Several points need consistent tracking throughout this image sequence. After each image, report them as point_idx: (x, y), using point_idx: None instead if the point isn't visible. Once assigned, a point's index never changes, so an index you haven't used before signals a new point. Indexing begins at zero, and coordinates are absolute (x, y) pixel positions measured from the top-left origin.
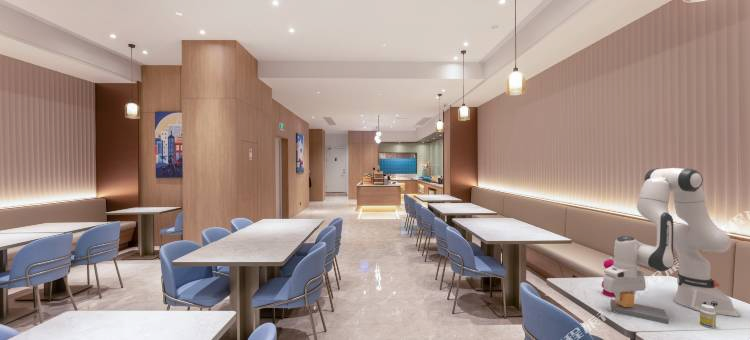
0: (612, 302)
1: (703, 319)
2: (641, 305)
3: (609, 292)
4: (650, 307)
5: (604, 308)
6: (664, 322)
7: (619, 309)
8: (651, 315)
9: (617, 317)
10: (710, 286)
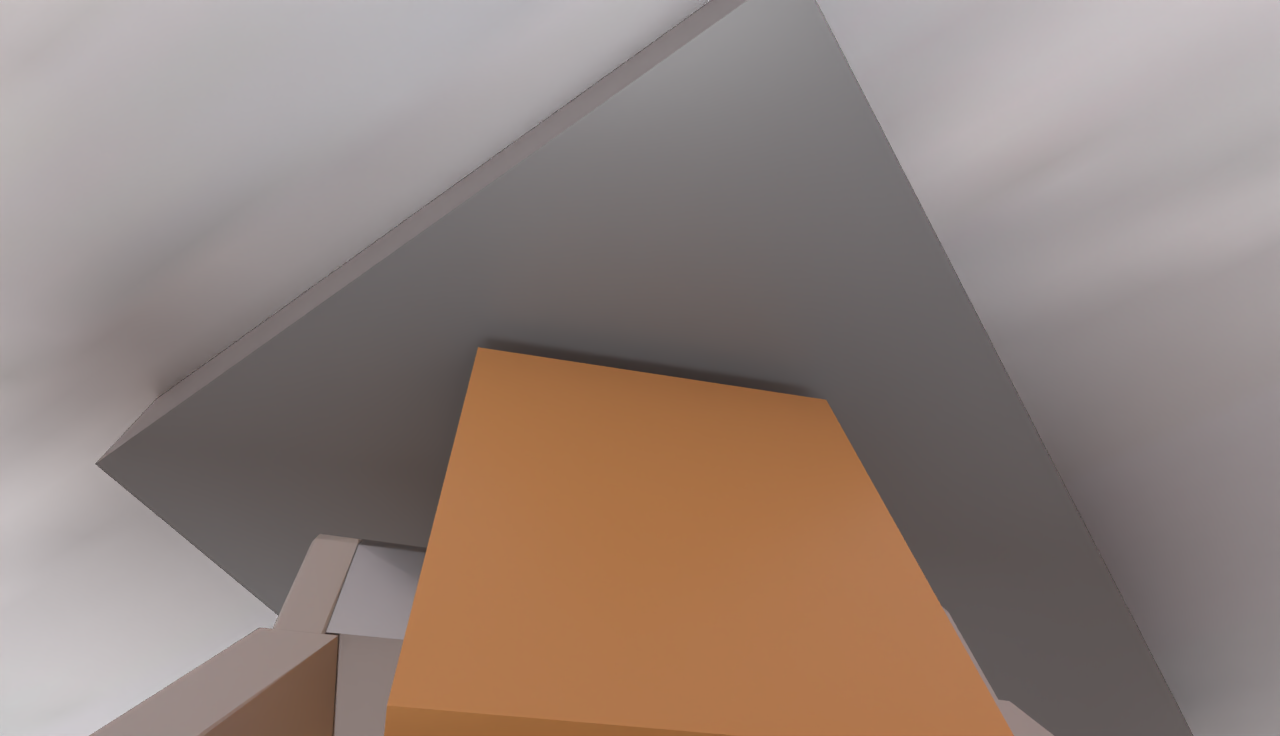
0: (507, 223)
1: None
2: (1085, 593)
3: None
4: (1126, 702)
5: (132, 193)
6: None
7: (248, 578)
8: None
9: (31, 621)
10: None
